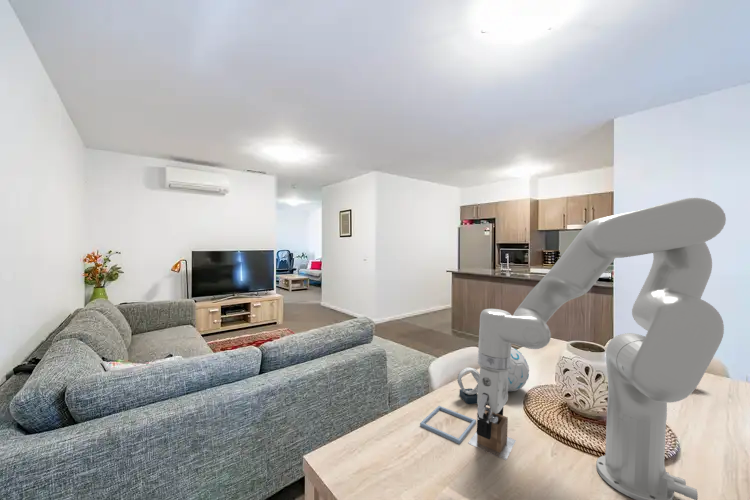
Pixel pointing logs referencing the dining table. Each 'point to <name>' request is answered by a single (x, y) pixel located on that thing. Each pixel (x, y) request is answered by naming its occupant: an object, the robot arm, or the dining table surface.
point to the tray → (424, 425)
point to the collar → (496, 434)
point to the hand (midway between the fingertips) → (490, 426)
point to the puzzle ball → (517, 371)
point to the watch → (468, 394)
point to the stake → (503, 454)
